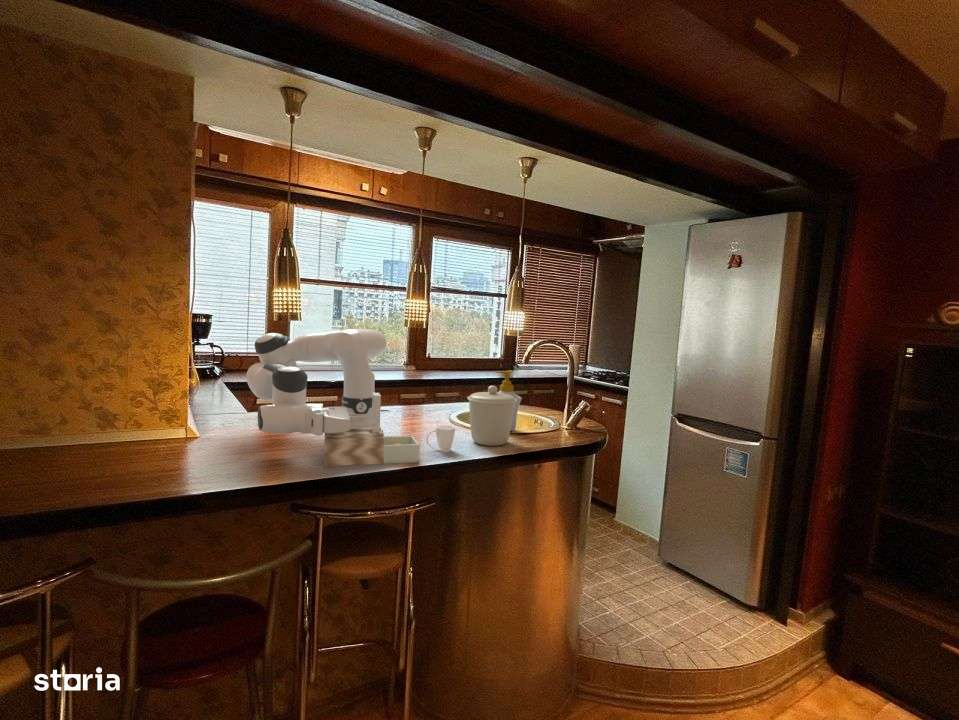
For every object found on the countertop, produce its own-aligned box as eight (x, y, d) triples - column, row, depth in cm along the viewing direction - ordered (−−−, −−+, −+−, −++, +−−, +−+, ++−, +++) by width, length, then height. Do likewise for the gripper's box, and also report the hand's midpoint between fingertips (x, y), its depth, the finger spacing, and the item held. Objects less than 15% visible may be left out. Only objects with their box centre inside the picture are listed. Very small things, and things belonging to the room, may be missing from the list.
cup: (457, 452, 165) (458, 428, 164) (428, 454, 161) (429, 429, 161) (451, 447, 171) (452, 424, 171) (423, 448, 168) (424, 425, 167)
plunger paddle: (372, 434, 150) (374, 395, 149) (371, 430, 155) (372, 392, 154) (379, 434, 150) (380, 395, 149) (377, 430, 156) (378, 392, 154)
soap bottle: (482, 428, 202) (485, 369, 200) (504, 425, 210) (508, 368, 208) (503, 435, 192) (506, 372, 190) (526, 431, 200) (529, 371, 198)
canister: (479, 434, 192) (482, 380, 190) (522, 441, 184) (525, 385, 182) (456, 443, 176) (458, 385, 174) (501, 452, 168) (505, 391, 166)
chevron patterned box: (324, 466, 143) (325, 436, 142) (324, 455, 154) (324, 427, 153) (383, 463, 149) (384, 435, 148) (379, 453, 159) (380, 426, 159)
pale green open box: (383, 463, 149) (384, 445, 148) (379, 453, 159) (379, 436, 159) (418, 462, 152) (419, 444, 151) (412, 452, 163) (412, 435, 162)
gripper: (316, 421, 156) (360, 420, 161) (316, 437, 137) (366, 436, 141) (316, 401, 156) (361, 401, 160) (316, 414, 136) (367, 414, 141)
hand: (364, 418), depth 151 cm, fingers closed
